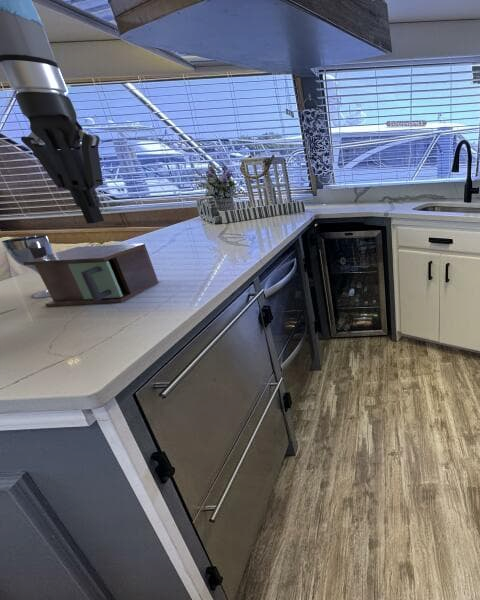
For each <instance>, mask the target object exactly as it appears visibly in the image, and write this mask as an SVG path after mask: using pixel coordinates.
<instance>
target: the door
mask: <svg viewBox="0 0 480 600" xmlns="http://www.w3.org/2000/svg"><path fill="white" fill-rule="evenodd" d="M68 266H69V268H70V270H71V272H72V274H73V276H74V278H75V280H76V283H77V285H78V287H79V289H80V291H81V293H82V295H83V297H84V299H93V300H94V301H97V300H101V299H102V298H116V297H122V296H123V295H122V292H121V290H120V287H119V285H118V283H117V280H116V278H115V275H114V273H113V270H112V268H111V266H110V263H109V261H97V262H78V263H69V264H68Z"/></svg>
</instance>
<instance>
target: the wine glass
mask: <svg viewBox="0 0 480 600" xmlns="http://www.w3.org/2000/svg"><path fill="white" fill-rule="evenodd" d="M1 243H2V246H3V247H4V249H5V250H6V252H7V253H8V254H9V256H10V257H11V258H12V259H13V260H14V261H15V262H16V263H17V264H18V265H20V266H23V267H25V268H27V269H30V270H32V271H34V272H35V273H37V274H38V275H39V276H40V274H39V272H38V270H37V268H36V266H35V265H24V264H23V262H25V261H29V260H32V259H36V258H39V257H43V256H47V255H50V254H54V253H53V247H52V245H51V242H50V239H49V238H48V236H47V235H44V234H39V235H28V236H20V237H14V238H8V239H4V240H2V241H1ZM47 297H51V295H50V293H49V291H48V290H47V289H45V290H44V291H41V292H38V293H36V294H34V295H33V298H35V299H36V298H37V299H39V298H40V299H41V298H42V299H43V298H47Z"/></svg>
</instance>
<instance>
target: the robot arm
mask: <svg viewBox="0 0 480 600" xmlns="http://www.w3.org/2000/svg"><path fill="white" fill-rule="evenodd" d="M0 65H1V68H2V70H3V73H4V76H5V78H6V80H7V82H8V85H9V87H10V89H12V90H13V91H15V92H16V93H15V95H14V98H15V100H16V103H17V104H18V106H19V109H20V111H21V113H22V115H23V116H24V117H26V119H28V122H29V130H30V131H31V132H30V133H29V135H28V136H21V137H20V141H21V142H22V143H23V144H24V145H25V146H26V147H28V148H29V149H30V150H31V152H32V153H33V155H34V156H35V157H36V159H37V161H38V162H39V163H40V165H41V166H42V168H43V169H44V171H45V172H46V173H47V175H48V176H49V177H50V179H51V180H52V183H53V184H54V185H55V186H56V187H57V188H58V189H64V190H67V191H69V193H70V194H71V197H72V199H73V201H74V204H75V206H76V207H77V208H79V209H80V210H81V213H82V215H83V218H84V220H85V222H86V224H96V223H101V222H105V219H104V217H103V215H102V212H101V209H100V207H99V206H101V201H100V199H99V197H98V194H97V192H96V189H97V188H98V187H102V186H103V185H104V179H103V173H102V165H101V159H100V153H99V145H100V140H101V138H100V136H99V135H97V134H91V133H90V132H87V131H86V130H84V128H83V127H82V125H81V124H80V122H78V117H79V116H78V113H77V110H76V108H75V105H74V103H73V100H72V98H70V97H69V96H68V95H67V94H68V93H69V90H68V87H67V85H66V83H65V80H64V78H63V74H62V72H61V69H60V67H59V64H58V62H57V61H56V58H55V55H54V52H53V50H52V47H51V44H50V41H49V38H48V35H47V32H46V29H45V25H44V23H43V21H42V19H41V17H40V15H39V13H38V11H37V9H36V7H35V4H34V2H33V0H0Z"/></svg>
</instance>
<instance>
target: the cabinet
mask: <svg viewBox="0 0 480 600" xmlns="http://www.w3.org/2000/svg"><path fill="white" fill-rule="evenodd" d="M97 261H109V263H110V266H111V268H112V270H113V273H114V275H115V278H116V280H117V283H118V285H119V287H120V290H121V292H122V295H123V296H122V297H116V298H102V299H101V300H97V301H94V300H93V299H84V297H83V295H82V293H81V291H80V289H79V287H78V285H77V283H76V280H75V278H74V276H73V274H72V272H71V270H70V268H69V266H68V264H69V263H78V262H97ZM23 264H24V265H35V266H36V268H37V270H38V272H39V274H40V275H39V274H38V275H39V276H40V278H41V280H42V282H43V283H44V285H45V287H46V290H48V291H49V293H50V295H51V296H50V298H51V299H52V300H50V301H48V302H45V303H44V305H45V307H47V308H49V307H64V306H80V305H97V304H113V303H114V304H115V303H123V302H125V301H127V300H128V299H130V298H132V297H134V296H136V295H138V294H139V293H141V292H143V291H145V290H147V289H148V288H150V287H152V286H154V285H156V284H158V283H159V280H158V277H157V274H156V271H155V269H154V267H153V266H154V265H153V262H152V261H151V258H150V254H149V251H148V249H147V247H146V244H145V243H128V244H127V243H126V244H108V245H89V246H75V247H72V248H68V249H65V250H62V251H57V252H54V253H53V254H50V255H47V256H43V257H39V258H36V259H32V260H29V261H25V262H23Z"/></svg>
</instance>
